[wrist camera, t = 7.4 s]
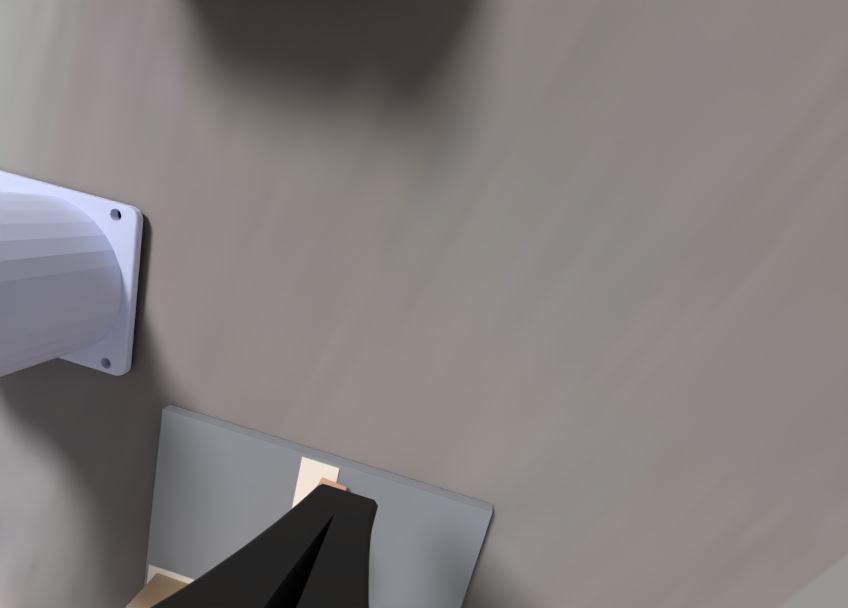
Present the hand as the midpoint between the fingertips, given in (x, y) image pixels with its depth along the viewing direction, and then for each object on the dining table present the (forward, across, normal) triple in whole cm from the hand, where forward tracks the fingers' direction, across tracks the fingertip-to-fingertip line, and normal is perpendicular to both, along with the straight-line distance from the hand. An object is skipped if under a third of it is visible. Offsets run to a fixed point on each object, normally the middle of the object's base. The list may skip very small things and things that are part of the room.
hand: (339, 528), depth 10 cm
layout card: (+9, +3, +12) cm, 16 cm away
